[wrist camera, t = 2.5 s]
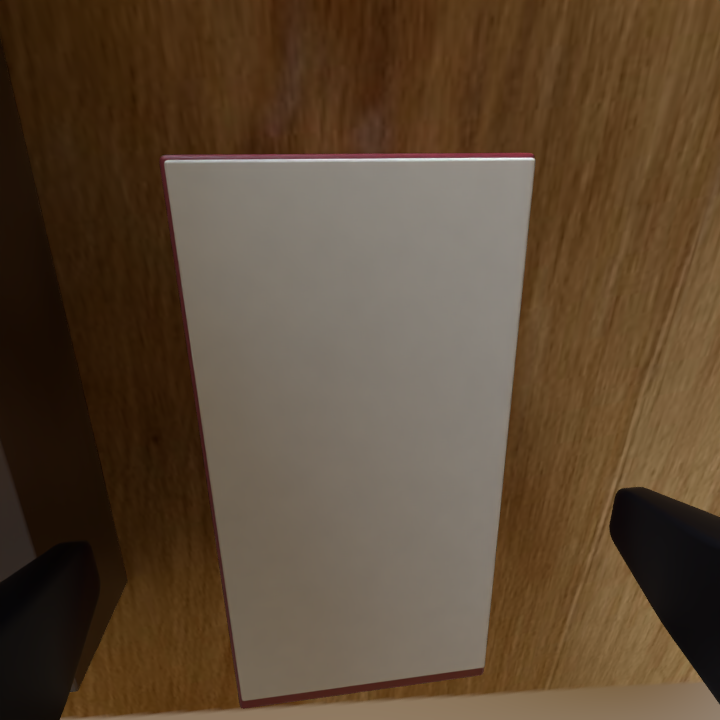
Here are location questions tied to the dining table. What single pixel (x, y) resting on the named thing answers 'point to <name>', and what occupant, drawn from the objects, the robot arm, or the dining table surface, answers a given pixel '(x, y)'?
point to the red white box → (352, 403)
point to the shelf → (43, 398)
